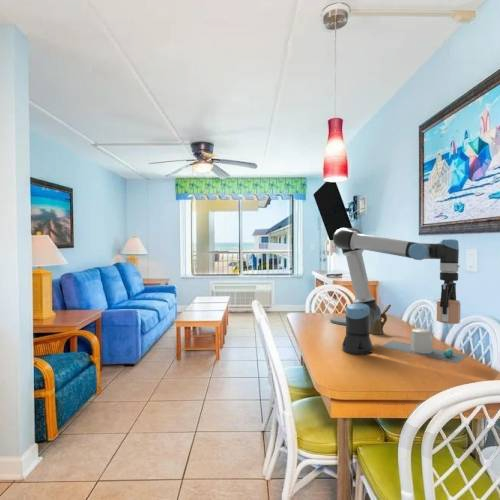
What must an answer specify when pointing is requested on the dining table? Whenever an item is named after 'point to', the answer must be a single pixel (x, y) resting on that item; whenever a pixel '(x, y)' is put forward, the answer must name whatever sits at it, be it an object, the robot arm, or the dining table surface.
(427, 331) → the cream cup
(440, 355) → the board
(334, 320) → the frisbee
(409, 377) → the dining table surface
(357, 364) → the dining table surface
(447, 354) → the marble
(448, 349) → the marble
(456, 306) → the terracotta cup
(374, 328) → the wooden mug
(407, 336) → the dining table surface
